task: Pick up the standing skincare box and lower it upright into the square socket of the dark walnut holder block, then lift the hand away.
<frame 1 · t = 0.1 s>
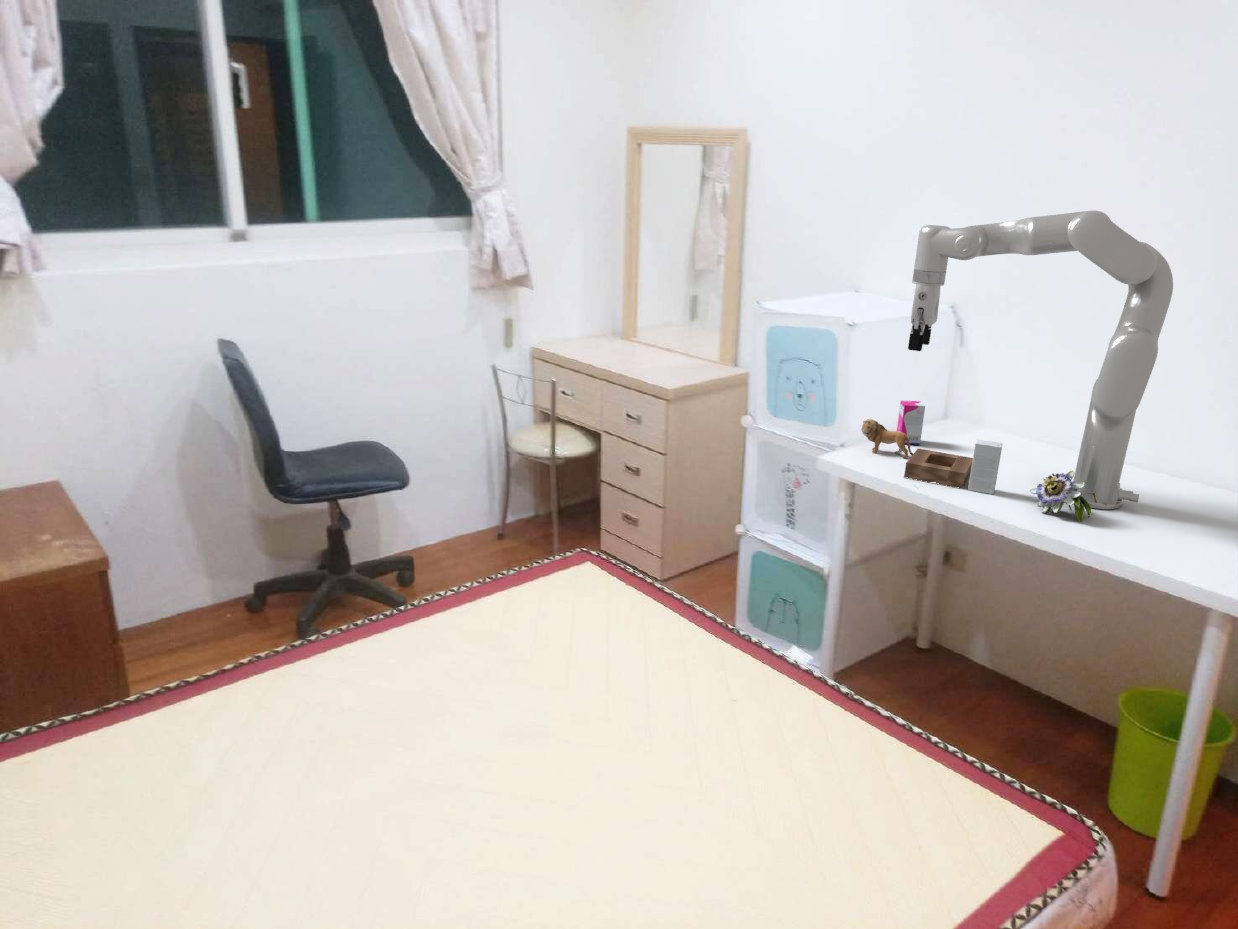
hand: (918, 347, 224), 31 cm above the table, tool pointing down, fingers open, 9 cm apart
skincare box: (980, 490, 219), on the table
supplement box: (907, 442, 254), on the table
lion figurine: (884, 454, 243), on the table
passion flower: (1060, 513, 206), on the table
holder block: (938, 475, 228), on the table
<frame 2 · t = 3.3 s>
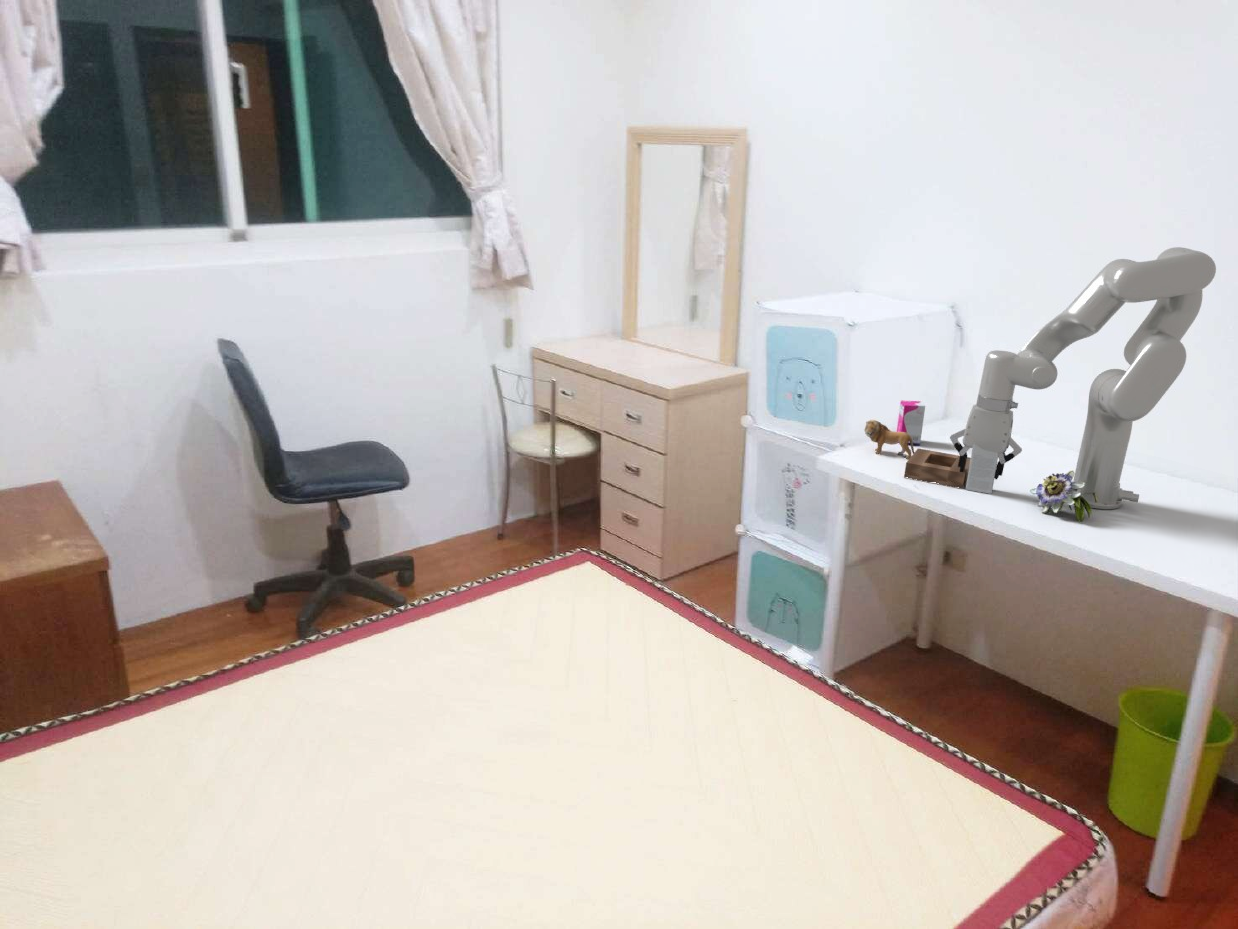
hand: (979, 473, 218), 4 cm above the table, tool pointing down, fingers open, 7 cm apart
skincare box: (978, 490, 219), on the table, touching gripper
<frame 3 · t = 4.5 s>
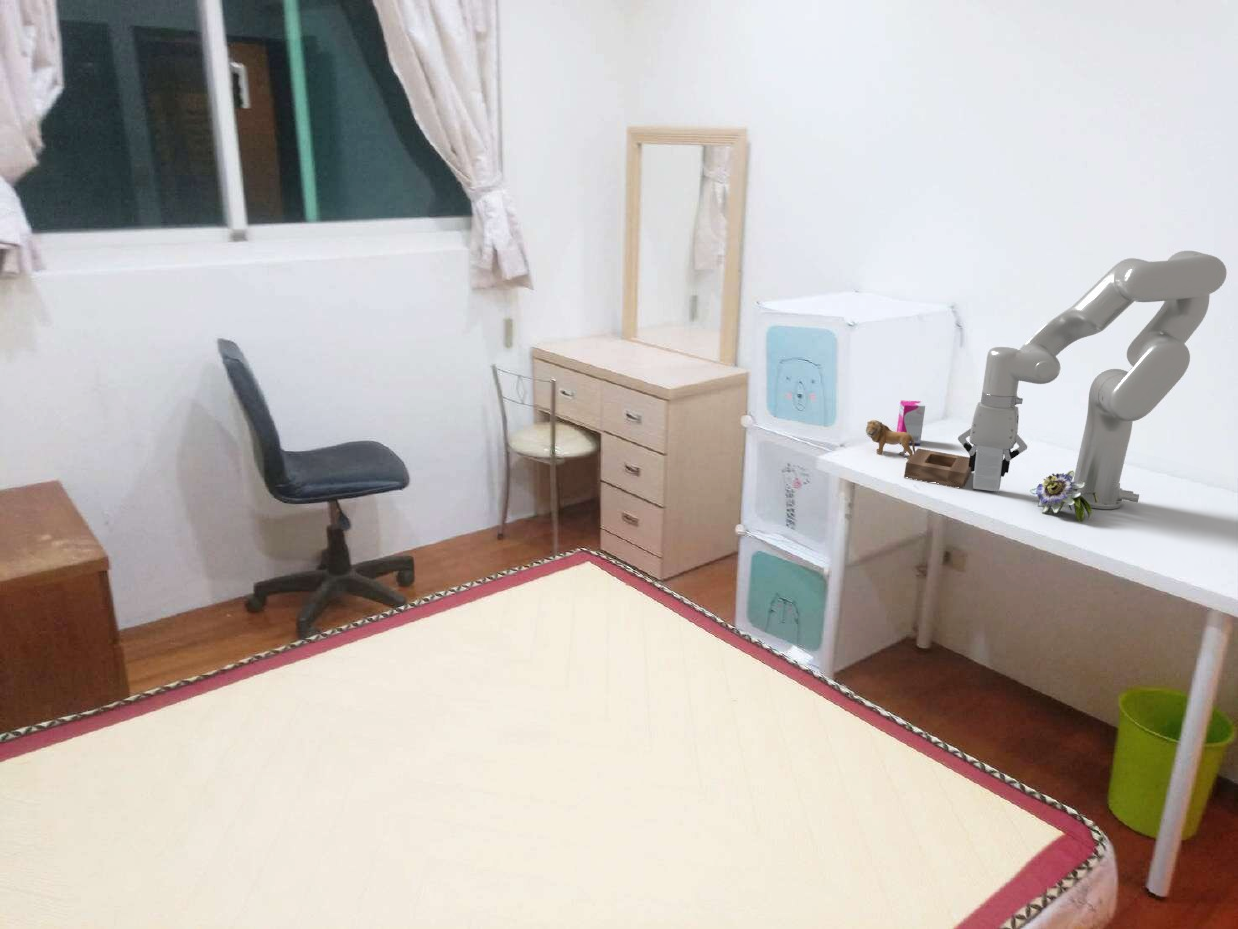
hand: (987, 471, 217), 5 cm above the table, tool pointing down, fingers closed on skincare box, 6 cm apart
skincare box: (985, 488, 218), on the table, touching gripper
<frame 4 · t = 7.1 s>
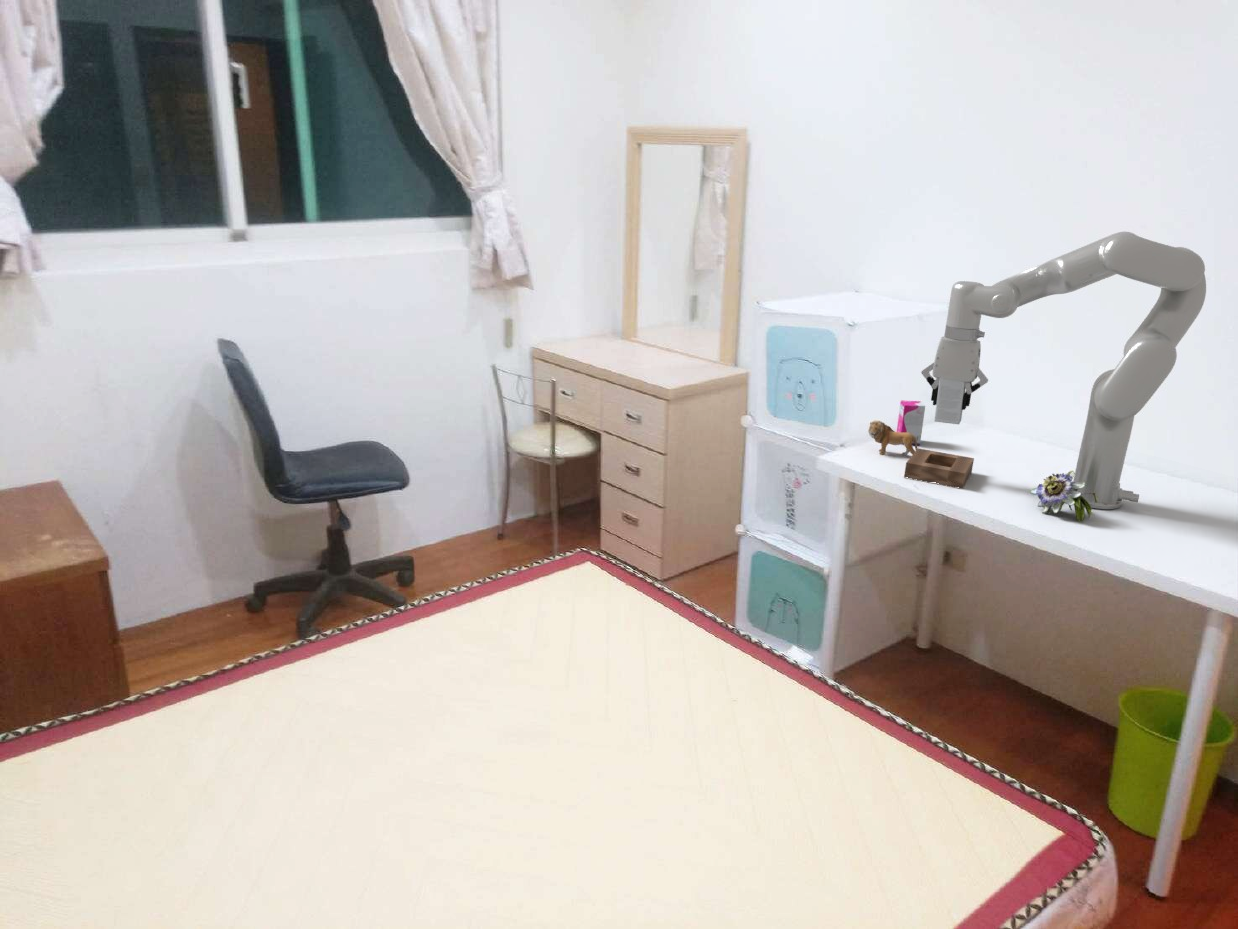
hand: (949, 405, 222), 18 cm above the table, tool pointing down, fingers closed on skincare box, 6 cm apart
skincare box: (947, 422, 223), point 14 cm above the table, touching gripper
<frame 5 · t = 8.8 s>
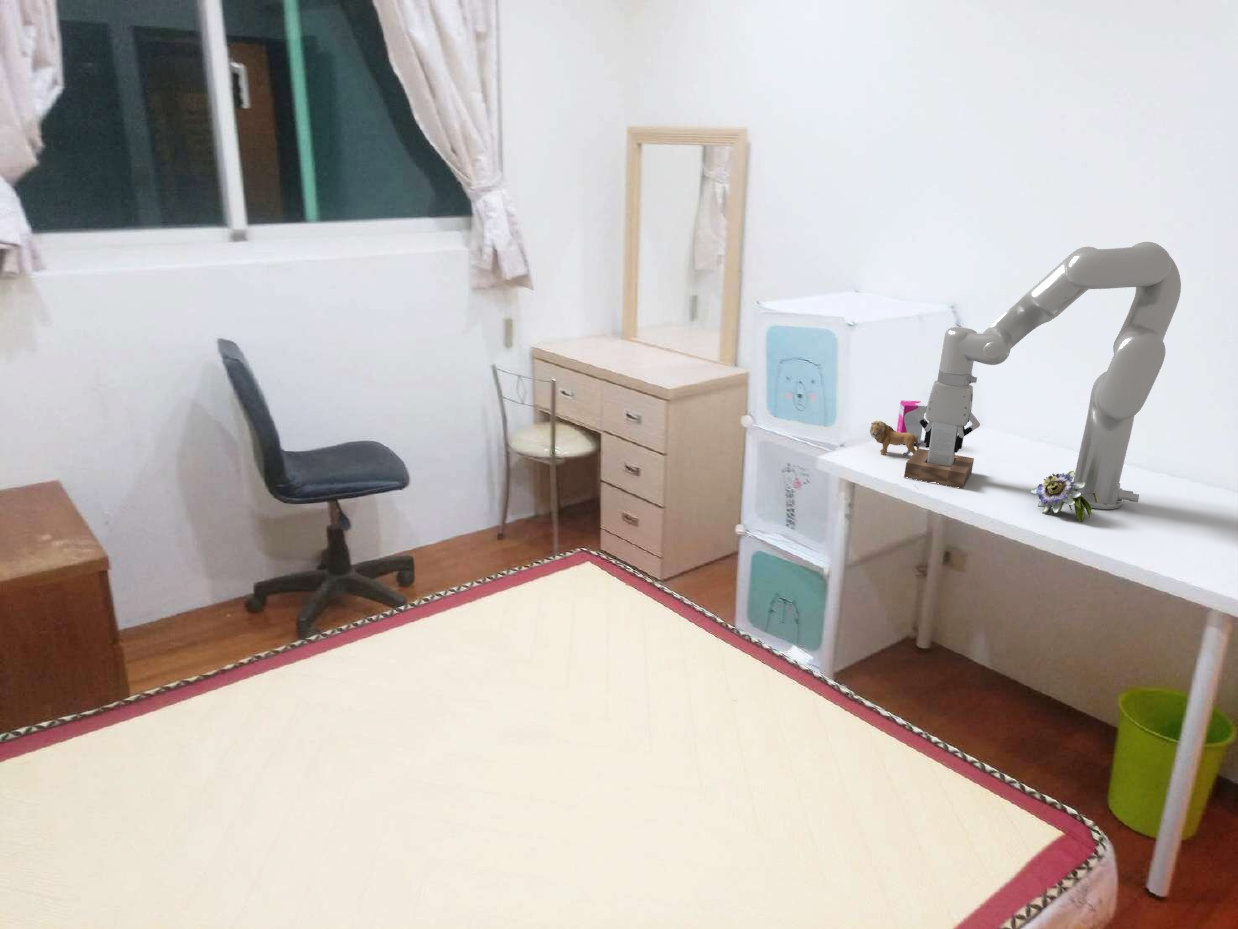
hand: (942, 448, 225), 7 cm above the table, tool pointing down, fingers closed on skincare box, 6 cm apart
skincare box: (940, 464, 227), point 3 cm above the table, touching gripper
when the fingers open (5 cm above the table, at t = 9.8 s): skincare box stays where it is, resting on holder block.
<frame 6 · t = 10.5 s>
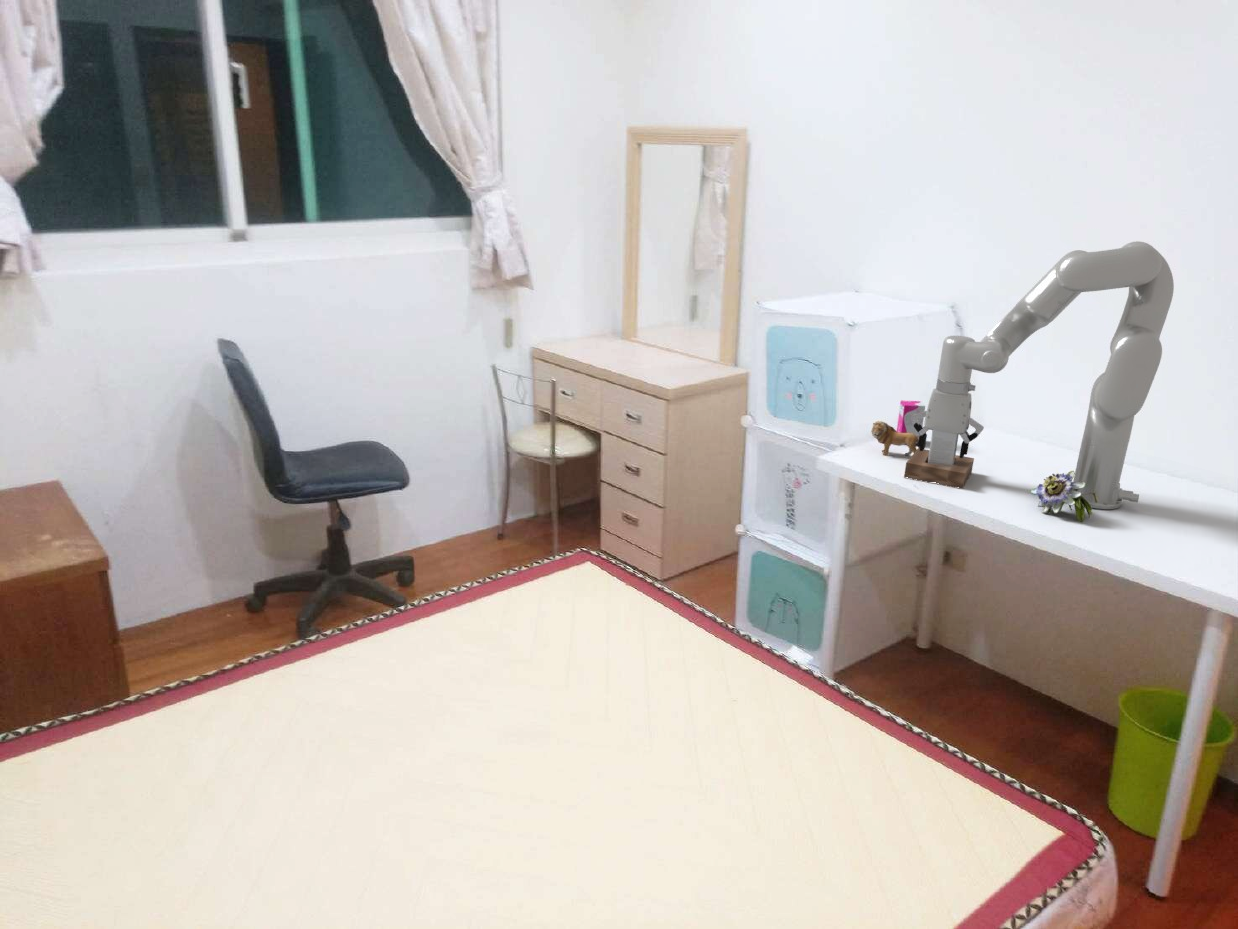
hand: (941, 453, 226), 6 cm above the table, tool pointing down, fingers open, 9 cm apart
skincare box: (939, 472, 228), point 1 cm above the table, touching holder block
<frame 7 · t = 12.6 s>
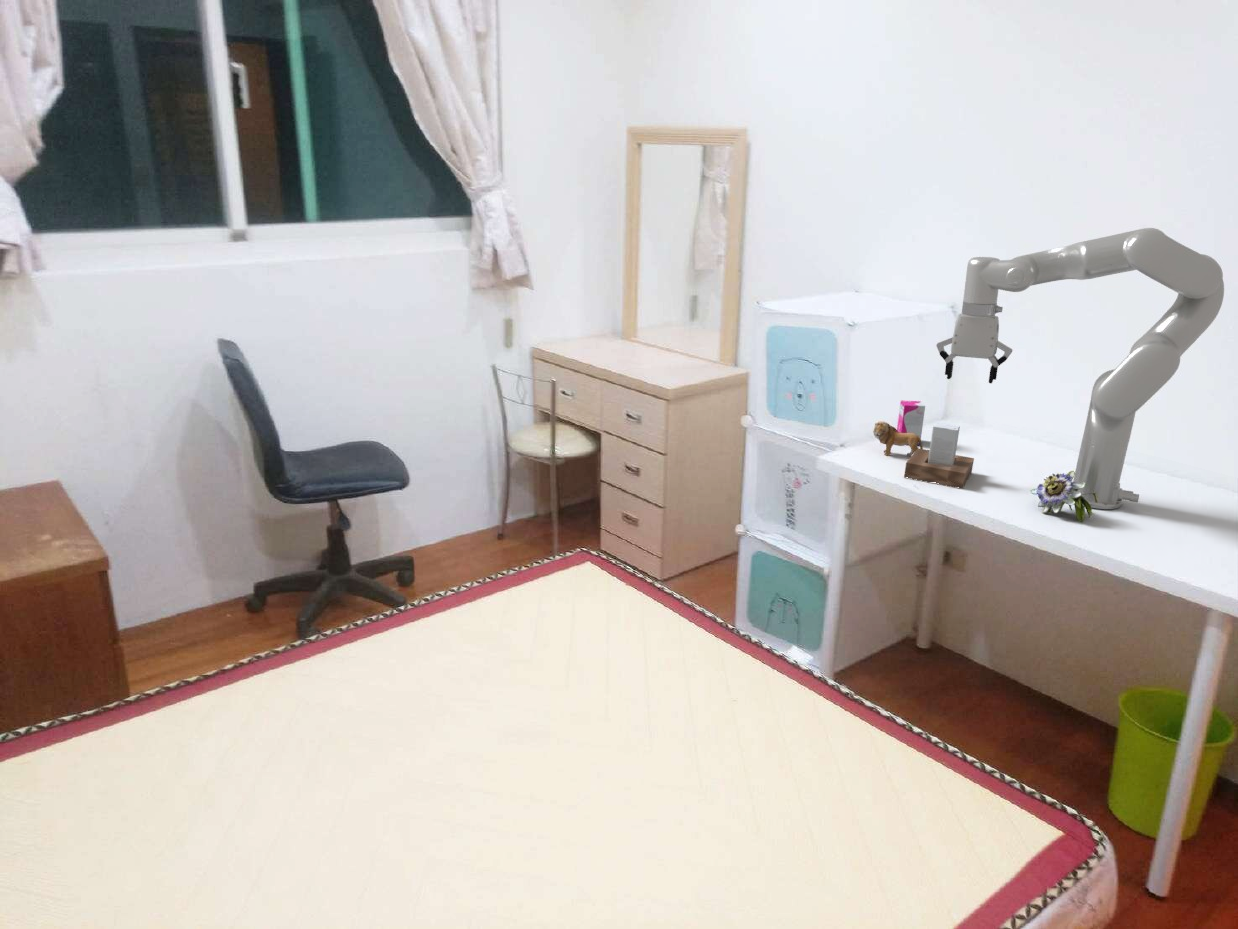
hand: (969, 380, 220), 25 cm above the table, tool pointing down, fingers open, 9 cm apart
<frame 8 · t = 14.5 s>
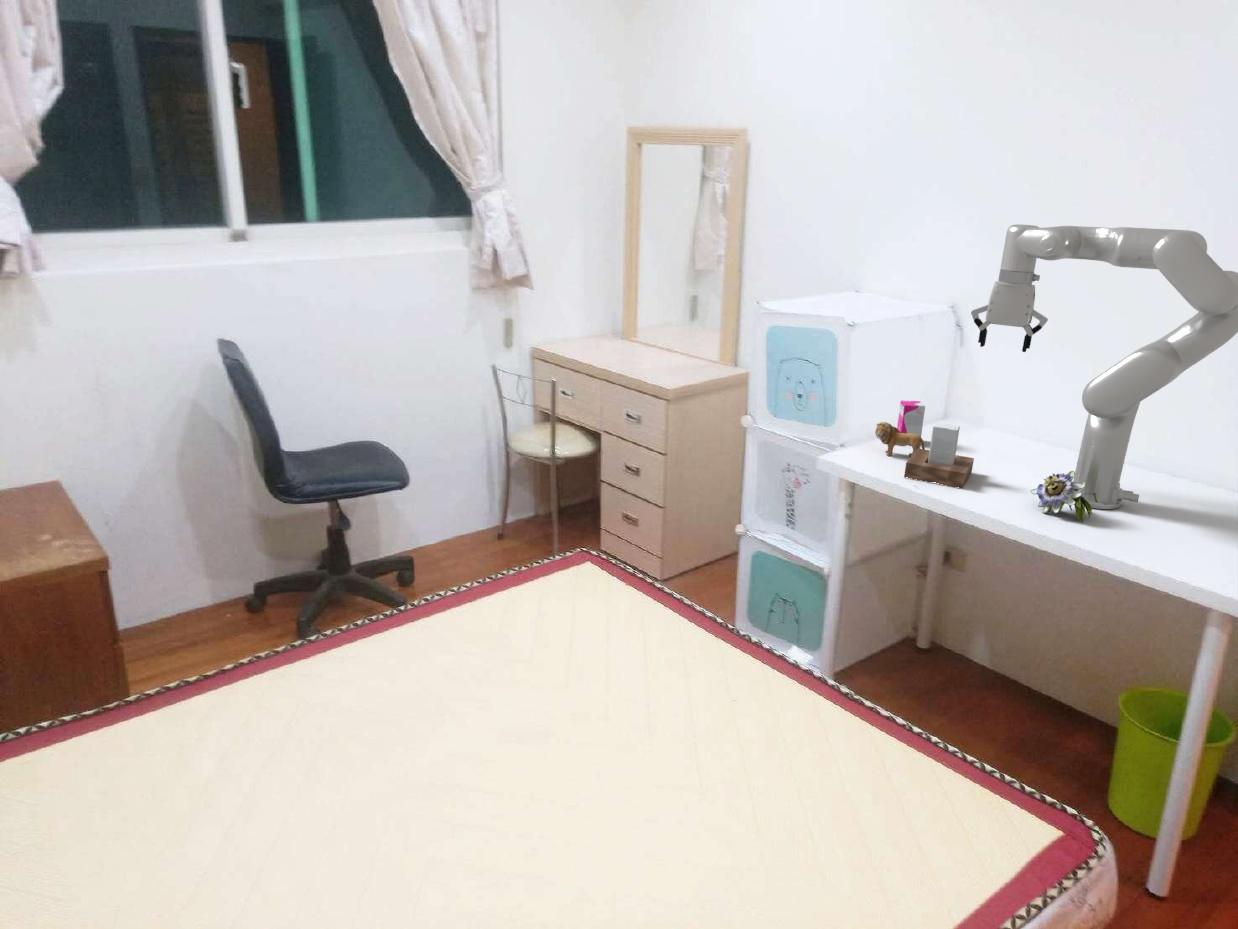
hand: (1003, 348, 221), 32 cm above the table, tool pointing down, fingers open, 9 cm apart
at the end: skincare box 0.2 cm off-centre on the holder block, point 0.8 cm above the holder block's base; skincare box tilted 0°; the gripper is holding nothing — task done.
